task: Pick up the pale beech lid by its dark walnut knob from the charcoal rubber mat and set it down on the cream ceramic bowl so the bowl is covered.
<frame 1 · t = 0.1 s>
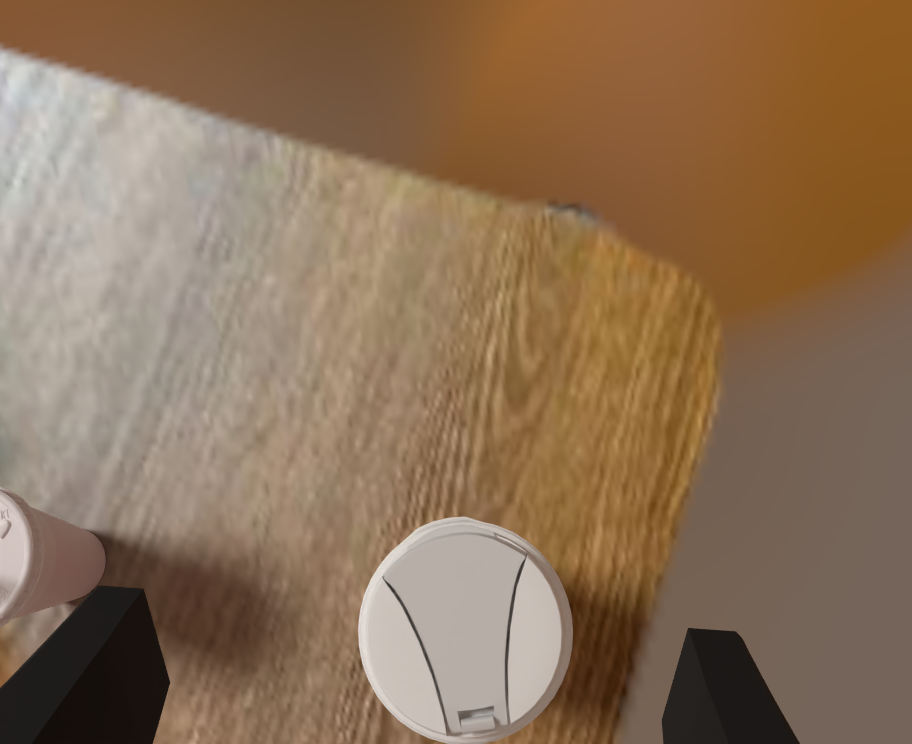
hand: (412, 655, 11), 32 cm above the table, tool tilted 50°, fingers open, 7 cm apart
paper cup: (471, 613, 42), on the table
smoothie: (72, 563, 44), on the table
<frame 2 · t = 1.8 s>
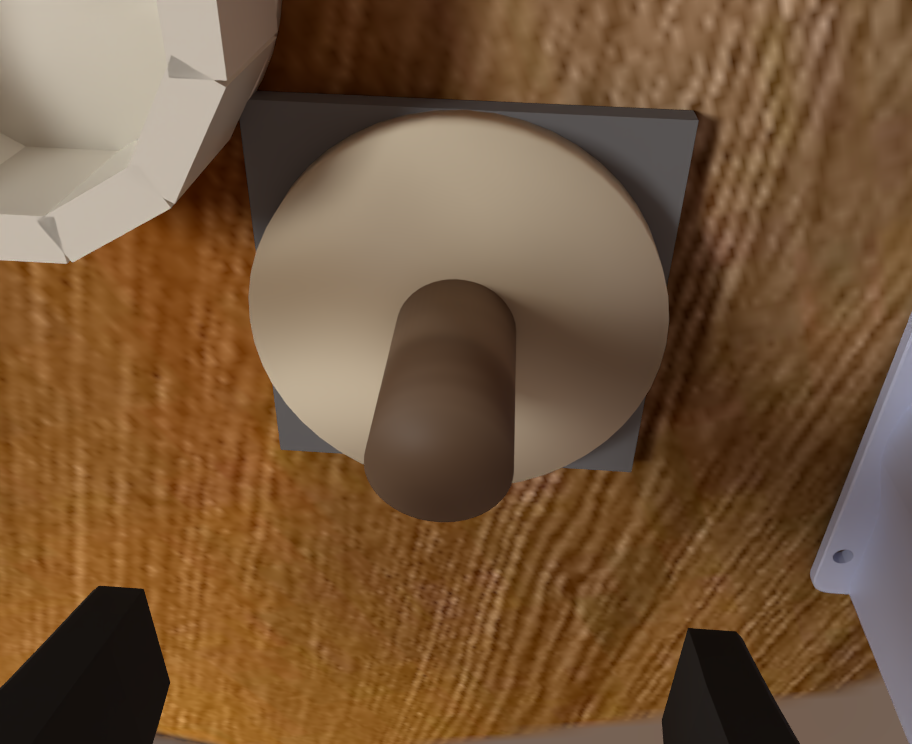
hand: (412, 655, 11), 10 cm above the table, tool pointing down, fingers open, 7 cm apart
lid: (458, 308, 19), point 1 cm above the table, touching mat
mat: (460, 296, 19), on the table
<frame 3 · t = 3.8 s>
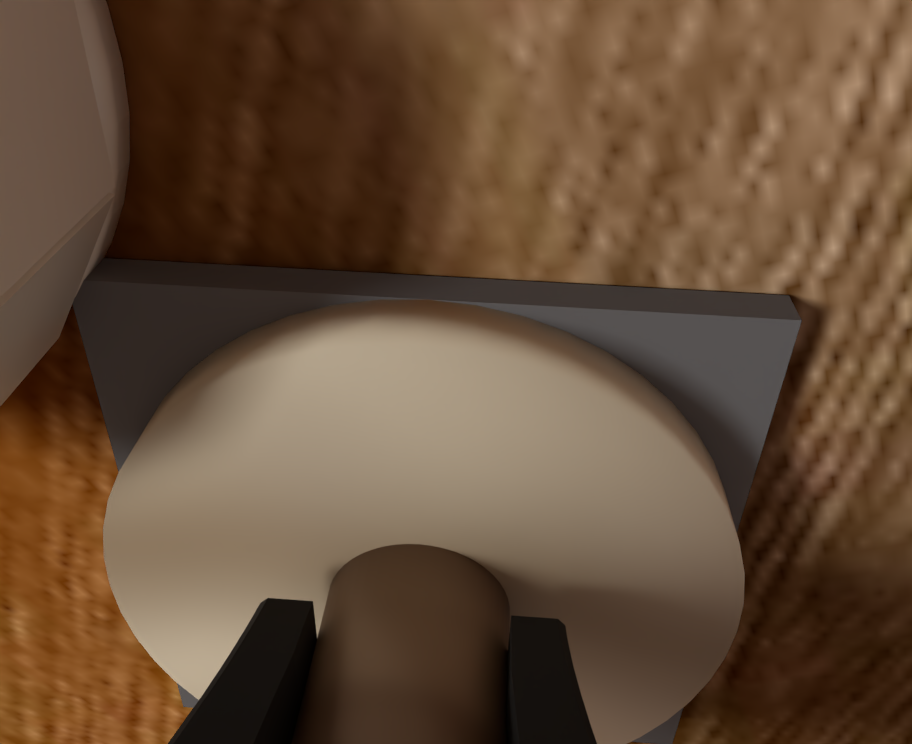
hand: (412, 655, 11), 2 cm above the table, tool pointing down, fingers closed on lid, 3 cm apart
lid: (425, 555, 13), point 1 cm above the table, touching gripper, mat
mat: (429, 527, 13), on the table
when the fingers open (7 cm above the table, at t = 6.4 s): lid stays where it is, resting on bowl.
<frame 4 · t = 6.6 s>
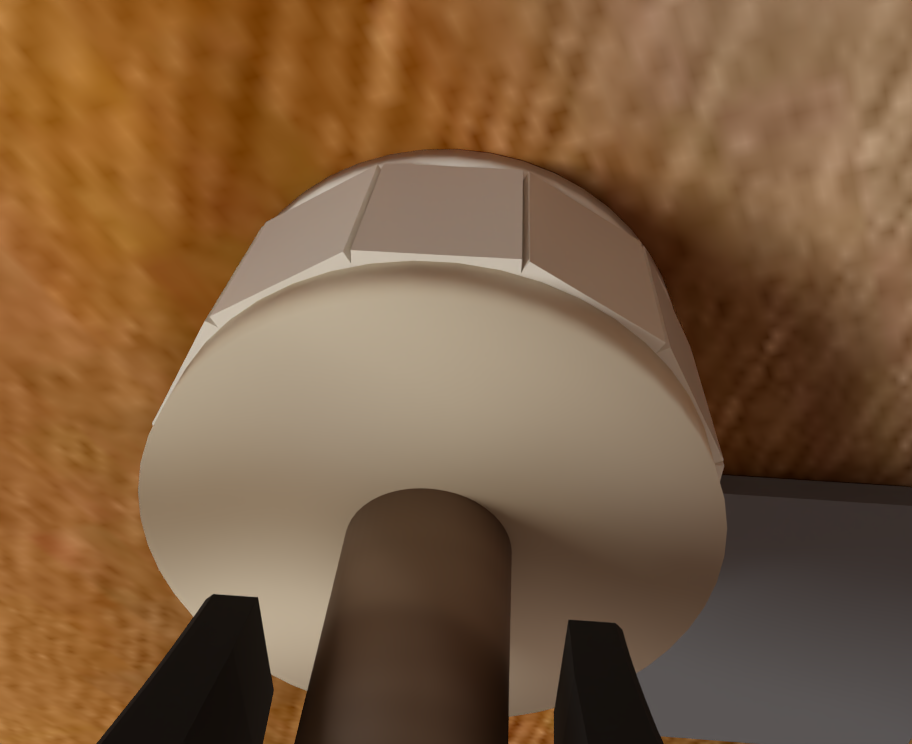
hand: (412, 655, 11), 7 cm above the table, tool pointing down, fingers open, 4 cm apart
lid: (433, 505, 14), point 4 cm above the table, touching bowl
mat: (767, 616, 21), on the table
bowl: (451, 364, 17), on the table
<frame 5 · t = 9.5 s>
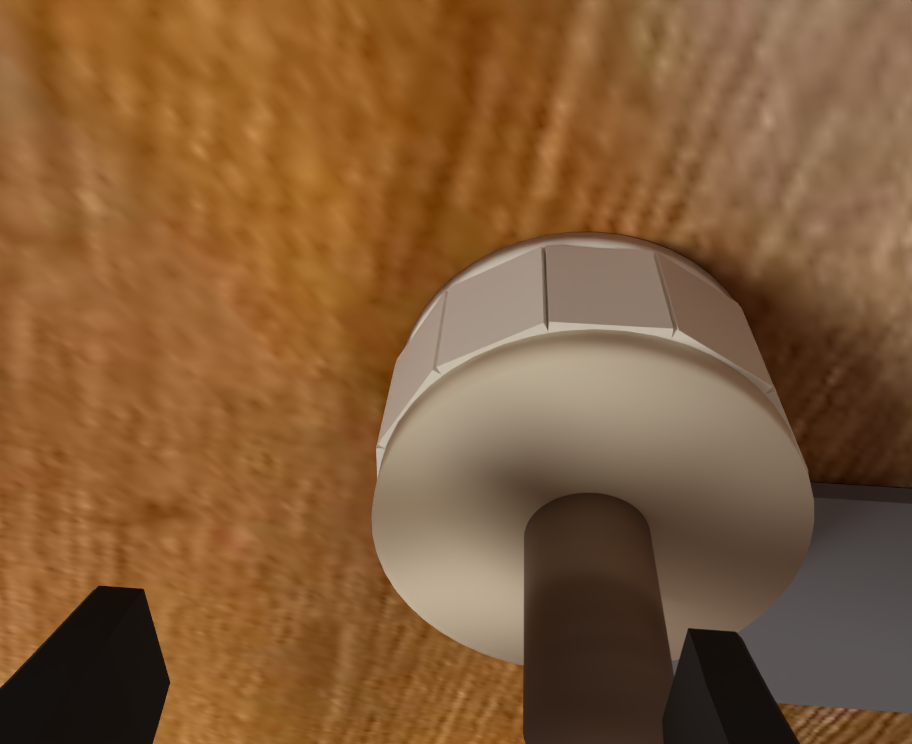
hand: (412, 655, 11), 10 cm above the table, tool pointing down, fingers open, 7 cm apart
lid: (584, 505, 18), point 4 cm above the table, touching bowl
mat: (818, 596, 25), on the table
bowl: (575, 392, 21), on the table
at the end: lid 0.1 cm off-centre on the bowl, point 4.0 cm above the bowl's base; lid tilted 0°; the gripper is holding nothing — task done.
